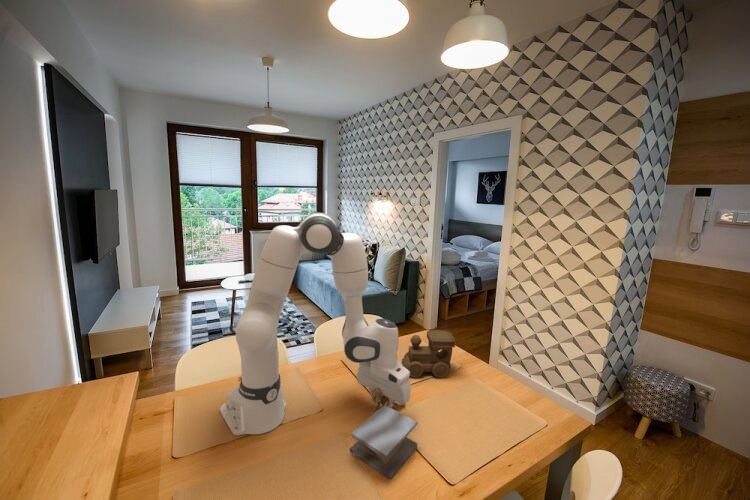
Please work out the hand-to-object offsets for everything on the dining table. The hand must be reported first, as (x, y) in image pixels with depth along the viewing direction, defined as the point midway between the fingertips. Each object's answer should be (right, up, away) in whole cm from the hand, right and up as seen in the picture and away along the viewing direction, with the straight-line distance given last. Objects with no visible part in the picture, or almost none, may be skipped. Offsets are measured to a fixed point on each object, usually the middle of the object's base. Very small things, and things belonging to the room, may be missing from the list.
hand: (381, 403), depth 110 cm
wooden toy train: (+19, +1, +26) cm, 32 cm away
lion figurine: (+2, -2, +1) cm, 3 cm away
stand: (0, -5, -17) cm, 18 cm away
